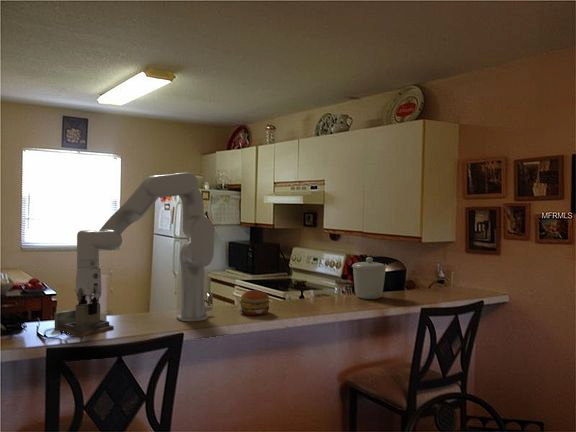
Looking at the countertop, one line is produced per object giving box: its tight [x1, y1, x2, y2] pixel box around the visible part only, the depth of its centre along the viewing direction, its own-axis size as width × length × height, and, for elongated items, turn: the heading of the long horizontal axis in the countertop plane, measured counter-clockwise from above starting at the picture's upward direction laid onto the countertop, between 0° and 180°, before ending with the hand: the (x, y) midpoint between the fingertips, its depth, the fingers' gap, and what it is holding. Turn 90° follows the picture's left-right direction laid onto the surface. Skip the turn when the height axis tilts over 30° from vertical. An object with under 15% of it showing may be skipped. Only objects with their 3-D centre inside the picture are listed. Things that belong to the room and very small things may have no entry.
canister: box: [351, 256, 388, 300], centre depth 257 cm, size 18×18×21 cm
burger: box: [238, 289, 271, 316], centre depth 216 cm, size 14×14×10 cm
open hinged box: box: [54, 308, 115, 338], centre depth 184 cm, size 14×16×6 cm
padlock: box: [75, 288, 101, 327], centre depth 182 cm, size 4×8×15 cm, turn 121°
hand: (87, 312), depth 183 cm, fingers open, 5 cm apart
